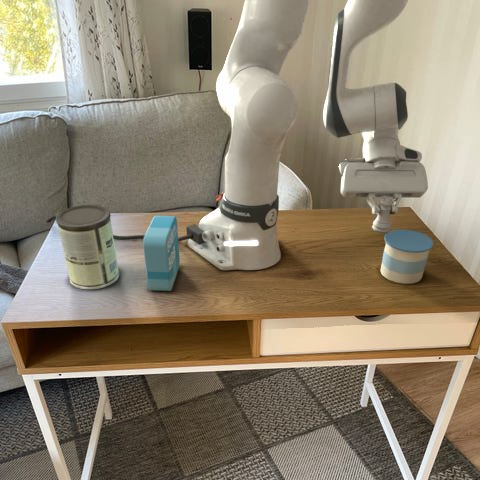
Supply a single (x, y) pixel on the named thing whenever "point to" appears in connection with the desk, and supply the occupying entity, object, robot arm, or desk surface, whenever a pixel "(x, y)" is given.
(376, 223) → the rook chess piece
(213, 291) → the desk surface
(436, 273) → the desk surface
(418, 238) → the yogurt tub
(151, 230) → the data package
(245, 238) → the robot arm
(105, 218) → the coffee can
